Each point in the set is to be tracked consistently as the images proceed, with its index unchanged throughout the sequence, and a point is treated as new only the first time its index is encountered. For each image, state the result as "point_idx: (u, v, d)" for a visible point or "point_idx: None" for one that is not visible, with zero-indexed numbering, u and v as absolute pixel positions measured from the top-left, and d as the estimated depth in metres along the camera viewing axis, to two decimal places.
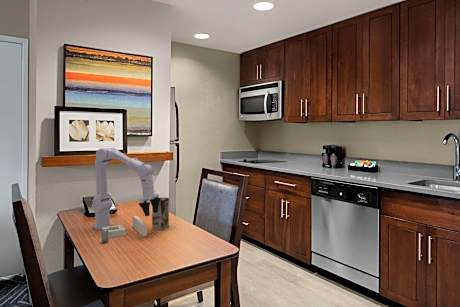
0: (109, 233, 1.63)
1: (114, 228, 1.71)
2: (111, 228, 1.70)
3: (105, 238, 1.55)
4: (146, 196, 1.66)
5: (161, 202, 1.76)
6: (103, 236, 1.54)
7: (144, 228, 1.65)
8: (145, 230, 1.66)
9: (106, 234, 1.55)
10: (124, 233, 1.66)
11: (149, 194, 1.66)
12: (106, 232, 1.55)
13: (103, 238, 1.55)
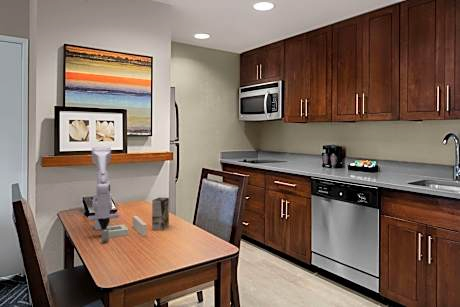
0: (112, 233, 1.63)
1: (117, 228, 1.72)
2: (114, 228, 1.71)
3: (105, 238, 1.55)
4: (97, 215, 1.64)
5: (161, 202, 1.76)
6: (103, 236, 1.54)
7: (144, 228, 1.65)
8: (145, 230, 1.66)
9: (106, 234, 1.55)
10: (127, 233, 1.67)
11: (99, 214, 1.63)
12: (106, 232, 1.55)
13: (103, 238, 1.55)
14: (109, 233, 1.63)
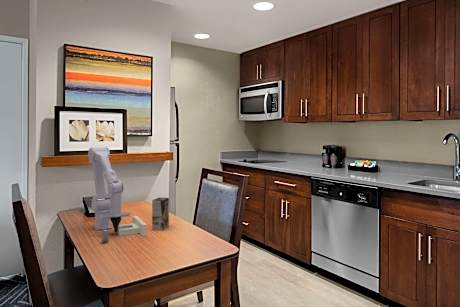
0: (123, 231, 1.66)
1: (128, 226, 1.75)
2: (125, 226, 1.74)
3: (105, 238, 1.55)
4: (110, 213, 1.67)
5: (161, 202, 1.76)
6: (103, 236, 1.54)
7: (144, 228, 1.65)
8: (145, 230, 1.66)
9: (106, 234, 1.55)
10: (138, 231, 1.70)
11: (111, 212, 1.66)
12: (106, 232, 1.55)
13: (103, 238, 1.55)
14: (121, 231, 1.66)
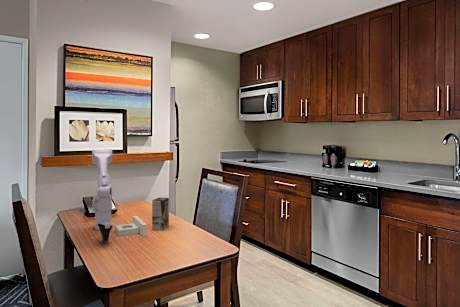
0: (123, 231, 1.66)
1: (127, 226, 1.75)
2: (124, 226, 1.74)
3: None
4: None
5: (161, 202, 1.76)
6: None
7: (144, 228, 1.65)
8: (145, 230, 1.66)
9: None
10: (137, 231, 1.70)
11: None
12: None
13: None
14: (120, 231, 1.65)
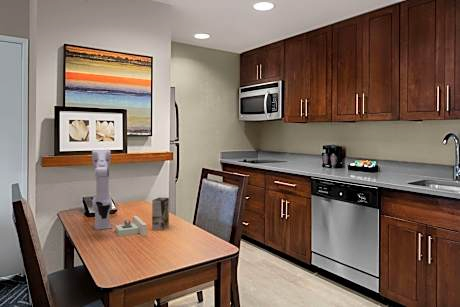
0: (123, 231, 1.66)
1: None
2: (124, 226, 1.74)
3: None
4: None
5: (161, 202, 1.76)
6: (126, 226, 1.71)
7: (144, 228, 1.65)
8: (145, 230, 1.66)
9: (129, 225, 1.71)
10: (137, 231, 1.70)
11: None
12: (129, 223, 1.71)
13: None
14: (120, 231, 1.65)
